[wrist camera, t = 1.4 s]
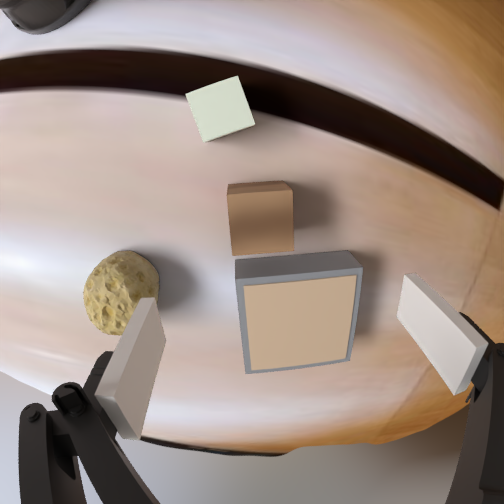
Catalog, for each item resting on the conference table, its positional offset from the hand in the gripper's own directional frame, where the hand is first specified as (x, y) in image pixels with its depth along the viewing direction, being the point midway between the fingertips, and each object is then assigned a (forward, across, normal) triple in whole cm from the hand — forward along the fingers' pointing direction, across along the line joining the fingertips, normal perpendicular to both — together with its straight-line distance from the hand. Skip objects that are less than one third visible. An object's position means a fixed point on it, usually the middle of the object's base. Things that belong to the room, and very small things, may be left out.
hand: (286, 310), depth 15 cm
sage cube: (+20, -3, +11) cm, 23 cm away
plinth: (+20, +4, -13) cm, 24 cm away
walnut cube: (+20, 0, 0) cm, 20 cm away
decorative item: (+20, -17, -8) cm, 28 cm away
